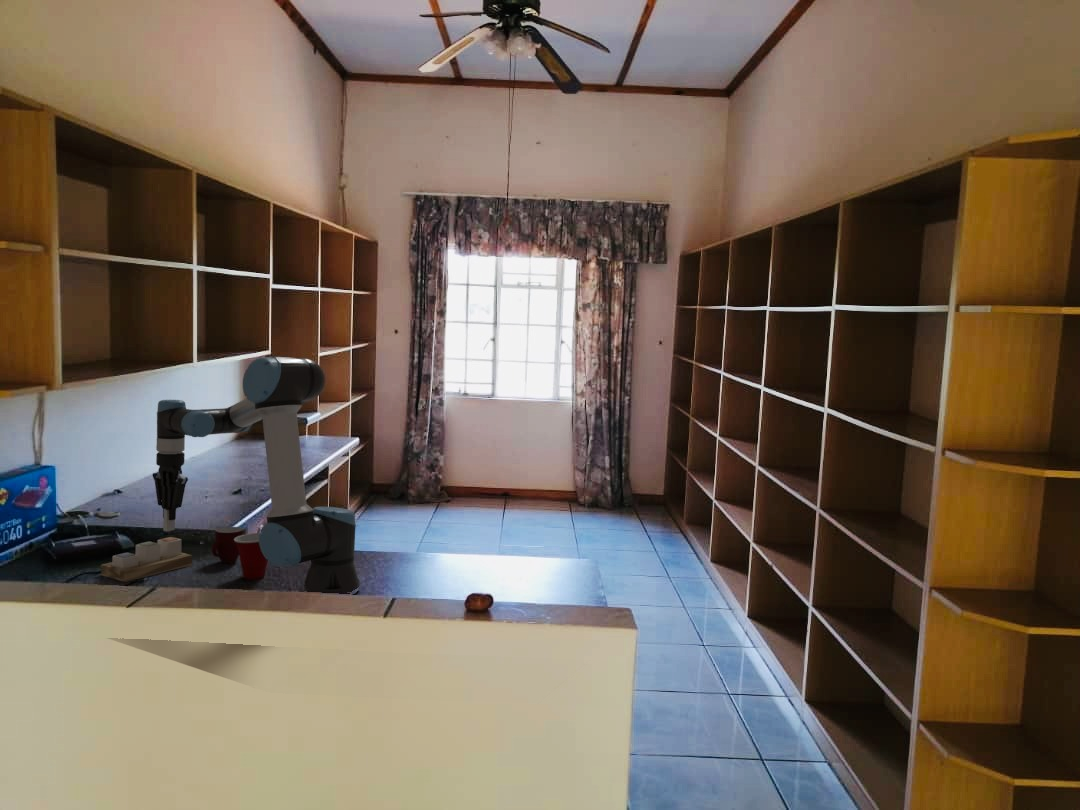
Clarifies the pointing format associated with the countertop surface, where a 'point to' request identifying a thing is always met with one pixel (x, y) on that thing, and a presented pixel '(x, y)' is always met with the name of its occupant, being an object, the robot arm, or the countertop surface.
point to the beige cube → (170, 547)
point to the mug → (226, 543)
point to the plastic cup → (251, 556)
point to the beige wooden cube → (148, 552)
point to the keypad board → (146, 568)
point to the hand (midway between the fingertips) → (169, 530)
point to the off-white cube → (125, 560)
